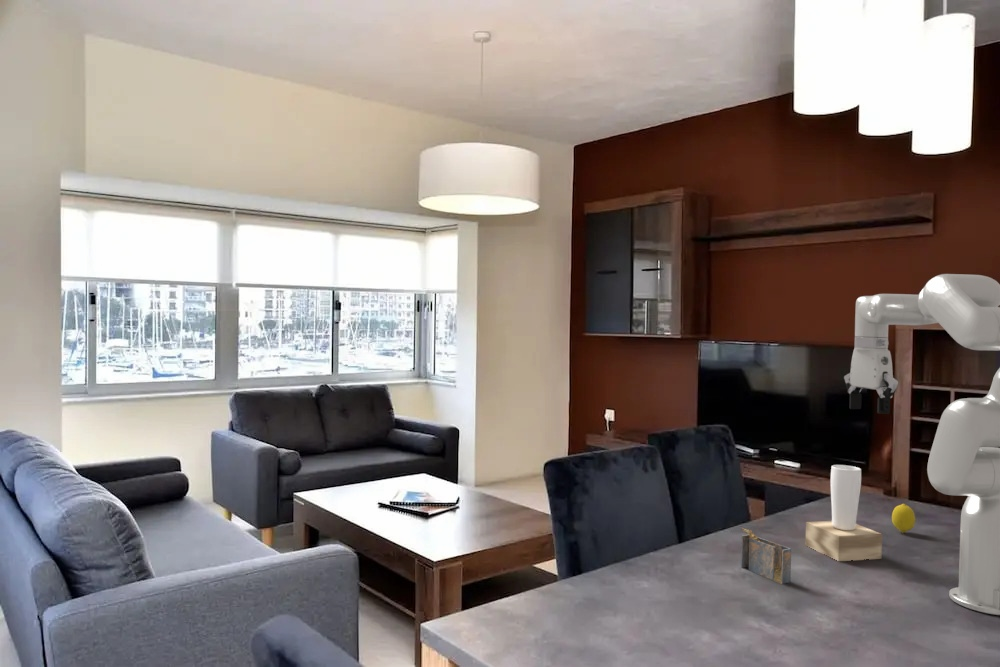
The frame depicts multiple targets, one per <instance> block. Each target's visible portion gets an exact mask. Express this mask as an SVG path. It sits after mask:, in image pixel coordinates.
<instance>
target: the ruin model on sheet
mask: <svg viewBox="0 0 1000 667" xmlns="http://www.w3.org/2000/svg"><path fill="white" fill-rule="evenodd" d="M741 529H742V532H744V533H746V534H744V535H741V548H740V549H741V551H740V552H741V554H740V557H741V559H740V568H742V569H743V568H746V567H748V571H749V572H752V573H755V574H757V575H759V576H762V577H765V578H767V579H769V580H772V581H773V582H777V583H778V584H780V585H781V584H782V585H783V584H787V583H791V579H792V578H791V575H792V573H791V572H792V548H791V547H787V546H785V545H783V544H782V545H781V544H779V543H777V542H773V541H770V540H767V539H764V538H761V537H759V536H756V535H755V533H753V531H752V530H750V529H747V528H743V527H741Z"/></svg>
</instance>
